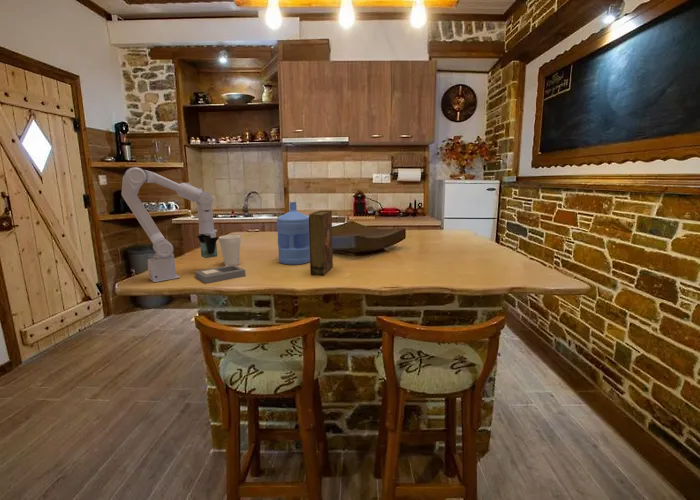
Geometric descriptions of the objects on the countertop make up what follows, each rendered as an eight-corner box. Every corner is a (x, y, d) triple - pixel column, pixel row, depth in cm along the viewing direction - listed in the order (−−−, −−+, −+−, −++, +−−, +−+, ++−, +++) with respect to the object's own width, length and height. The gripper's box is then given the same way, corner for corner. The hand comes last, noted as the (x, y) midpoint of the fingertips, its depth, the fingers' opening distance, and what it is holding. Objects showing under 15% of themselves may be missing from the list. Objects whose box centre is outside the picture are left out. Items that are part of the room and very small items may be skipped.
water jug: (282, 257, 179) (279, 201, 173) (314, 257, 178) (312, 200, 173) (275, 265, 164) (271, 203, 158) (309, 265, 163) (307, 203, 157)
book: (321, 265, 162) (320, 210, 157) (333, 266, 161) (332, 210, 156) (310, 275, 146) (308, 214, 141) (323, 276, 145) (321, 214, 140)
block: (205, 258, 149) (204, 244, 148) (201, 256, 153) (200, 242, 152) (217, 256, 152) (216, 242, 151) (213, 254, 156) (211, 241, 155)
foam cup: (228, 267, 160) (226, 239, 157) (217, 265, 165) (214, 237, 163) (246, 263, 167) (244, 236, 164) (234, 261, 173) (232, 234, 170)
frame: (205, 283, 136) (205, 276, 136) (195, 277, 145) (194, 270, 145) (245, 275, 147) (245, 269, 146) (233, 270, 155) (232, 263, 155)
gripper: (222, 221, 147) (224, 253, 149) (209, 218, 157) (212, 248, 160) (204, 222, 142) (207, 256, 145) (192, 219, 153) (195, 250, 156)
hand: (208, 252), depth 152 cm, fingers closed on block, 5 cm apart
